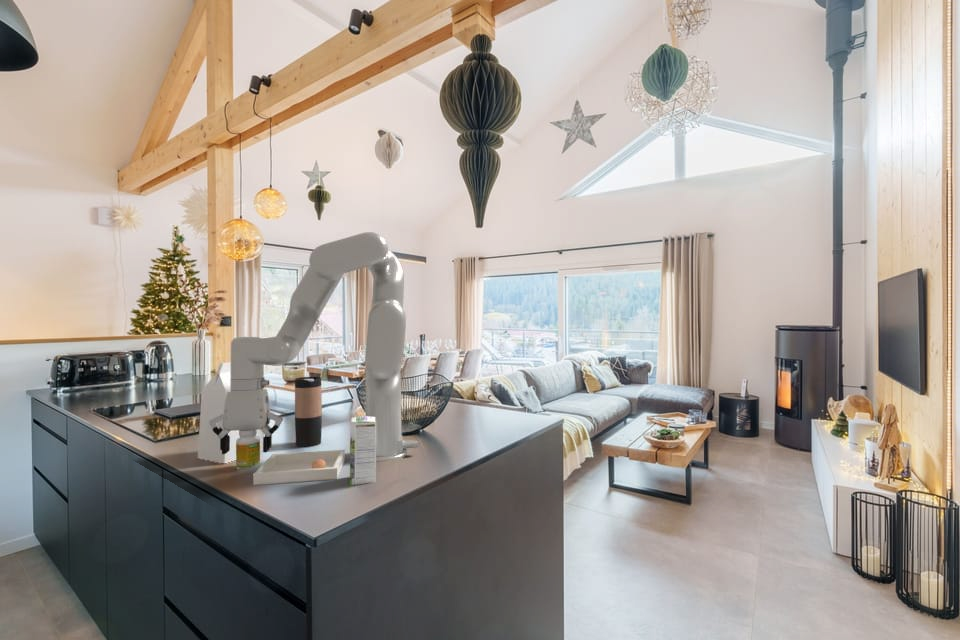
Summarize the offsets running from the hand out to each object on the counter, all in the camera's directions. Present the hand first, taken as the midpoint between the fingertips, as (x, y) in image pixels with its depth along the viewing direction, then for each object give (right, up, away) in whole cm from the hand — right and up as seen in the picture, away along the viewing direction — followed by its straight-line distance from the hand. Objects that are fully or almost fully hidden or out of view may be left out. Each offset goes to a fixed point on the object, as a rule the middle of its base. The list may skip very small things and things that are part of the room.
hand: (246, 451), depth 111 cm
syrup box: (+33, -4, -11) cm, 35 cm away
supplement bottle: (+1, -4, 0) cm, 4 cm away
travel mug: (+8, -4, +21) cm, 23 cm away
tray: (+17, -4, -5) cm, 18 cm away
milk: (-10, -4, +10) cm, 15 cm away
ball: (+21, -3, -6) cm, 22 cm away
